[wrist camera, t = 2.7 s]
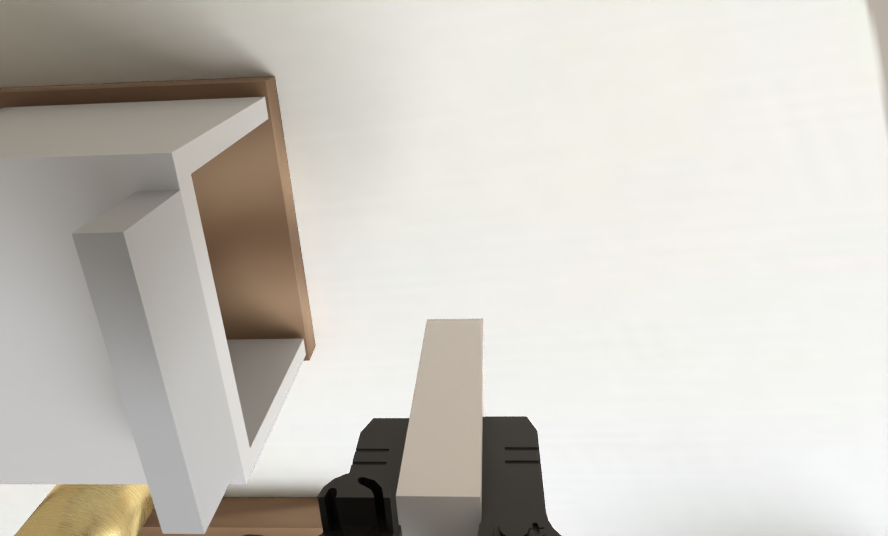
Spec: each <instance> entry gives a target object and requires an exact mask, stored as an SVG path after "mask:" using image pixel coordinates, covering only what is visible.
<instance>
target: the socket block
mask: <svg viewBox="0 0 888 536" xmlns="http://www.w3.org/2000/svg"><path fill="white" fill-rule="evenodd" d="M322 533H323V528H322V522H321V516H320V510H319V504H318V498H222V500H221V502H220V504H219V506H218V508H217V510H216V512H215V514H214V516H213V518H212V520H211V522H210V524H209V526H208V528H207V530H206V532H205V534H163V533H162V529H161V526H160V523H159V520H158V516H157V513H156V510H155V507H154V509H153V511H152V512H151V514H150V516H149V517H148V519H147V521H146V522H145V524H144V526H143V527H142V529H141V530H140V532H139V534H138V535H137V536H243V535H247V534H253V535H262V536H319V535H320V534H322Z"/></svg>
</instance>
